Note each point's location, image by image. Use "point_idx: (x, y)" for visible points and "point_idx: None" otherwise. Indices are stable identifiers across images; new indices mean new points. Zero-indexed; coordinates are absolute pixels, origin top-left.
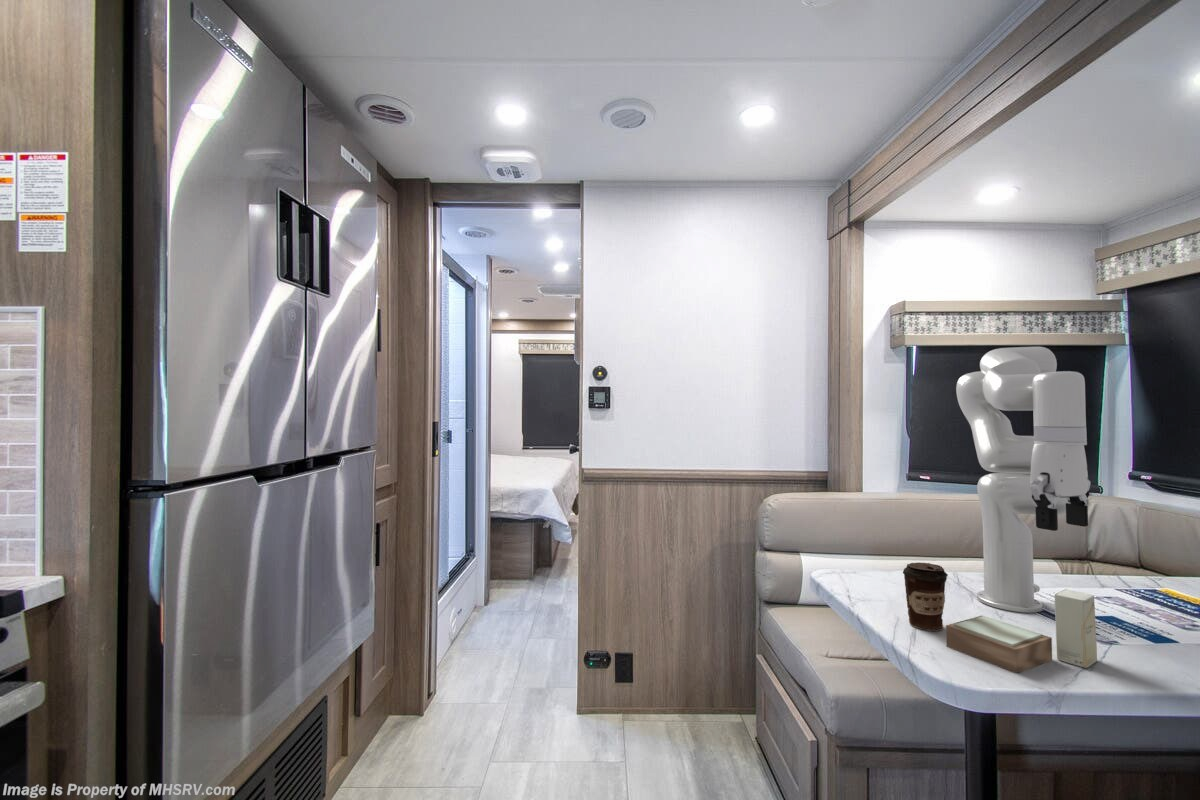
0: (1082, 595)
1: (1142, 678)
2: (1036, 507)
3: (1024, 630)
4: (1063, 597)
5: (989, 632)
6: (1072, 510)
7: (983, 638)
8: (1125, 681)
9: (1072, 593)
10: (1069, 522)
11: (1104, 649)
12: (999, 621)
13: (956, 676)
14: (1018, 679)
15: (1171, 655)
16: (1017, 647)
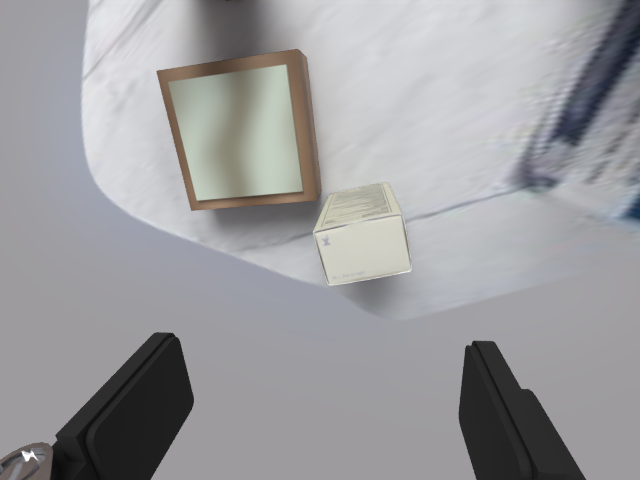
0: (376, 262)
1: (386, 279)
2: (66, 432)
3: (288, 164)
4: (317, 248)
5: (204, 145)
6: (497, 453)
7: (177, 154)
8: None
9: (370, 243)
10: (468, 360)
11: (475, 197)
12: (287, 106)
13: (109, 172)
14: (195, 213)
15: (561, 257)
16: (203, 205)
